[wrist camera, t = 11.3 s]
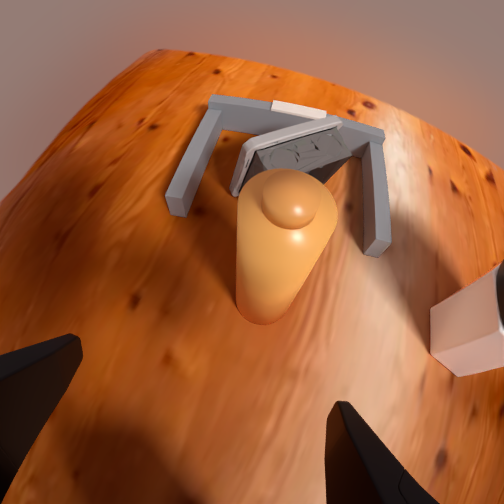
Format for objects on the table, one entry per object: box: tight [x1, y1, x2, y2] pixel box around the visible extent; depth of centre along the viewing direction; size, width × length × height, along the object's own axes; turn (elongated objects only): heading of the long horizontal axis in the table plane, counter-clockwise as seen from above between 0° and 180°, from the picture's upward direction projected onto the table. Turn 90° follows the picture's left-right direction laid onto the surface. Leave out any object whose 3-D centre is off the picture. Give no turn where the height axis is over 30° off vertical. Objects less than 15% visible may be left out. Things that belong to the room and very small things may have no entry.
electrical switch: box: [229, 115, 352, 197], centre depth 25 cm, size 9×5×9 cm, turn 119°
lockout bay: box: [165, 94, 392, 258], centre depth 28 cm, size 15×20×4 cm
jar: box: [430, 260, 504, 377], centre depth 18 cm, size 9×8×12 cm
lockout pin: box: [236, 168, 338, 325], centre depth 18 cm, size 4×4×14 cm
